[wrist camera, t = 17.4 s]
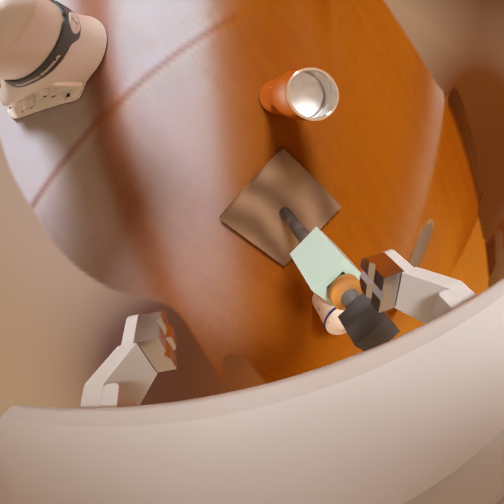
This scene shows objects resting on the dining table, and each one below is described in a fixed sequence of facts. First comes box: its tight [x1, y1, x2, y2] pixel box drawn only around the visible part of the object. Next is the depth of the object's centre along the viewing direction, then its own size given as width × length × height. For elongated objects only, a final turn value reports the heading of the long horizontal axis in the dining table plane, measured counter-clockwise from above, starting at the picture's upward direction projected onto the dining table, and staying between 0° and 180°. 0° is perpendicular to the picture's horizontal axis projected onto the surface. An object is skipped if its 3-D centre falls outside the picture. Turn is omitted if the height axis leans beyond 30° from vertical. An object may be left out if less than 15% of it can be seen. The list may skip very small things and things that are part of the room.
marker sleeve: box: [290, 226, 361, 309], centre depth 33 cm, size 5×5×8 cm
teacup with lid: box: [312, 293, 347, 335], centre depth 57 cm, size 12×9×12 cm
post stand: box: [220, 148, 400, 351], centre depth 36 cm, size 16×16×32 cm
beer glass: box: [259, 67, 339, 121], centre depth 33 cm, size 7×7×15 cm
